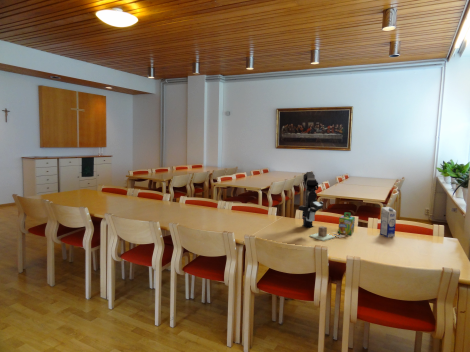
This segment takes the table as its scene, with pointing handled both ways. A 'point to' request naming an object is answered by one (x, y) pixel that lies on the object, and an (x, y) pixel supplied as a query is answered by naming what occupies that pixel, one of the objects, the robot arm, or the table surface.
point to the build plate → (322, 237)
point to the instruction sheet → (339, 235)
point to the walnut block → (322, 231)
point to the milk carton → (388, 222)
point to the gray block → (311, 216)
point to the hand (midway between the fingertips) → (310, 219)
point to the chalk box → (346, 224)
